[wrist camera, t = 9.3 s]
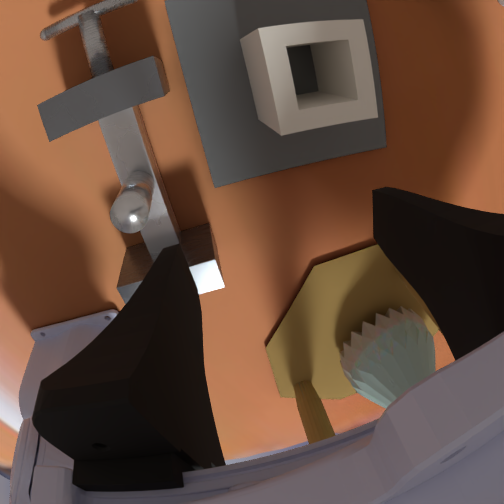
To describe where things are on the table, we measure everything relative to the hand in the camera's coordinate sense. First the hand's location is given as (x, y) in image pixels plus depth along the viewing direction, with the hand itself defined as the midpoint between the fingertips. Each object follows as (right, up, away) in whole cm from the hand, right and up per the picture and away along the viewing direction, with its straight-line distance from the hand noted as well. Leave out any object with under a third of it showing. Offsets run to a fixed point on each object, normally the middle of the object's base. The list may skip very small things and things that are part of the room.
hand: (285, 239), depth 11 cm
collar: (+1, +10, +5) cm, 11 cm away
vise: (-8, +6, +6) cm, 12 cm away
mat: (+1, +10, +6) cm, 12 cm away
